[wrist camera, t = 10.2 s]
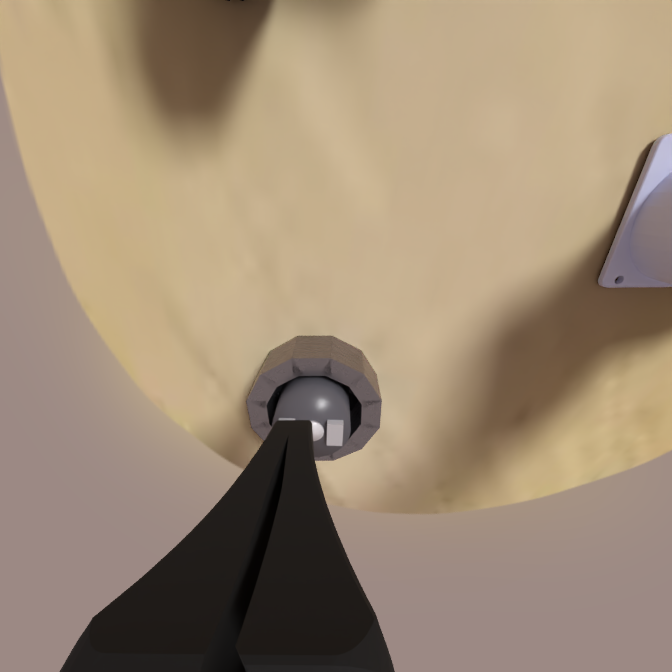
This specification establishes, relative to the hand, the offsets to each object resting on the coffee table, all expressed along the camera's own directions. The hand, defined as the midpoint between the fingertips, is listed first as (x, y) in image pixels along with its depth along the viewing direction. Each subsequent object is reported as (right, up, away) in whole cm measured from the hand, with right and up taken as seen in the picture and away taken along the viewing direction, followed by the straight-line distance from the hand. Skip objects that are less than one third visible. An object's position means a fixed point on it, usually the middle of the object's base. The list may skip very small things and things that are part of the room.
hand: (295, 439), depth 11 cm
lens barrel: (0, 0, +11) cm, 11 cm away
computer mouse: (0, 0, +11) cm, 11 cm away
